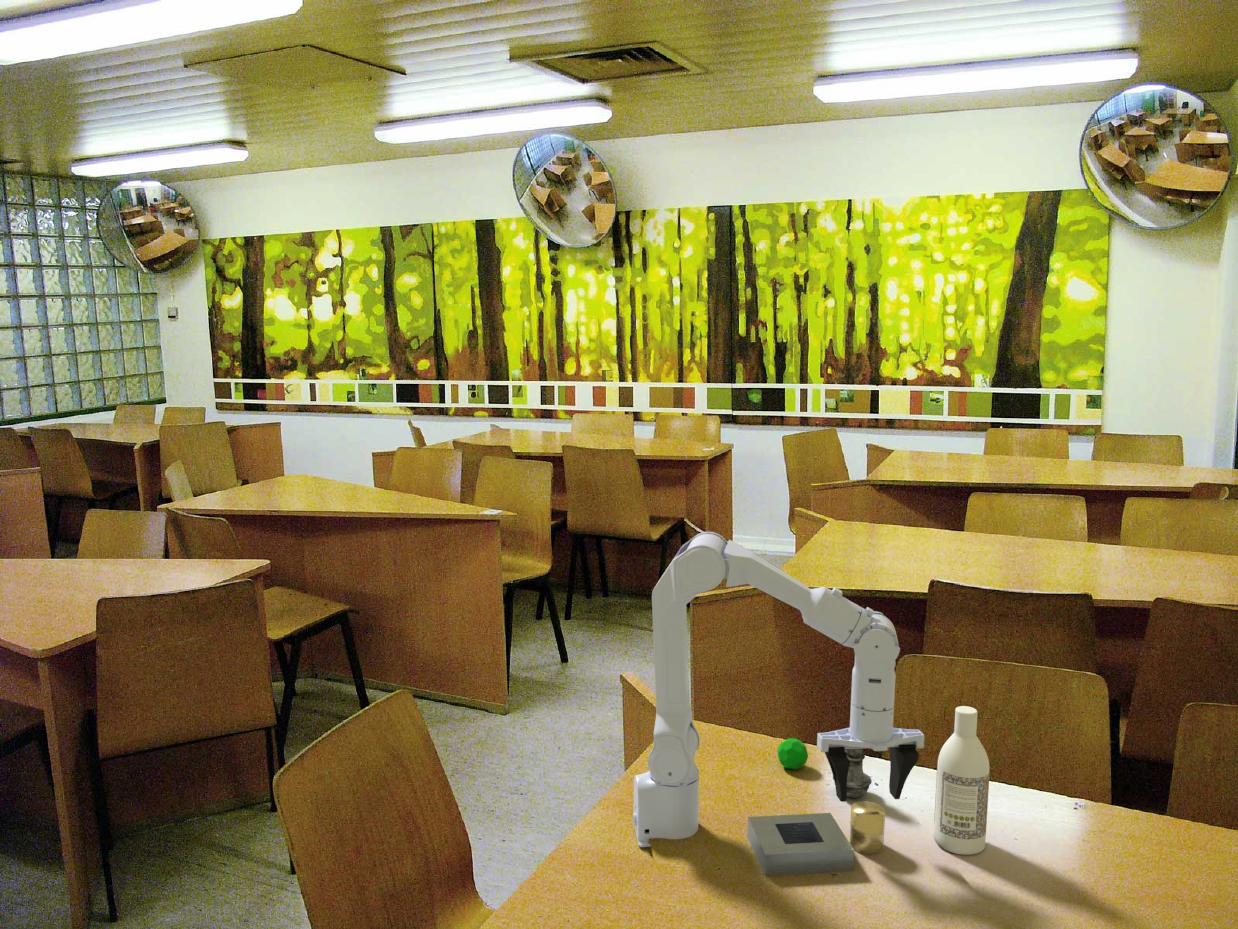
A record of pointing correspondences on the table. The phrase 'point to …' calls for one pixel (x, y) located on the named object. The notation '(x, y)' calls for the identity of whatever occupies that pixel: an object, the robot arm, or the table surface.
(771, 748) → the table surface
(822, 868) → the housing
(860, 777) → the grey chess piece
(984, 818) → the bath foam
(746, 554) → the robot arm
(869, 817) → the plug
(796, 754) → the polyhedron
